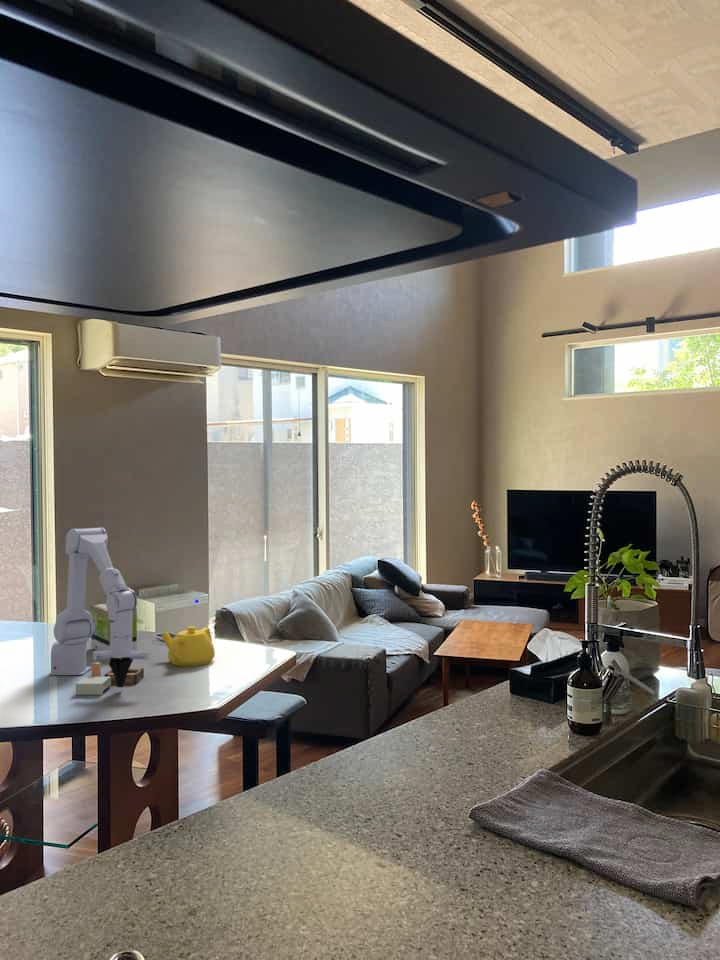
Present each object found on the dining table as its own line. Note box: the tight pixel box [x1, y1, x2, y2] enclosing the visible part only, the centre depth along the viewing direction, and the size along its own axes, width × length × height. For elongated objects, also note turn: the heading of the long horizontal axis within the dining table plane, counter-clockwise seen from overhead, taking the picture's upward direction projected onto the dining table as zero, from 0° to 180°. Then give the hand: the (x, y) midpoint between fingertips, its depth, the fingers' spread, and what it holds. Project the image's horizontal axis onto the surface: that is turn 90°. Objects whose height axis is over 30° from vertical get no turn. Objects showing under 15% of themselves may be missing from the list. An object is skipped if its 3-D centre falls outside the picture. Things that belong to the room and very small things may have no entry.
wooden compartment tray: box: [103, 667, 145, 685], centre depth 214 cm, size 9×7×2 cm
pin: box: [90, 661, 102, 677], centre depth 210 cm, size 2×2×6 cm
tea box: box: [90, 603, 138, 651], centre depth 250 cm, size 15×10×15 cm
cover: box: [75, 676, 112, 696], centre depth 203 cm, size 7×7×3 cm
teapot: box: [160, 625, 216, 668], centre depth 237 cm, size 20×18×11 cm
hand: (120, 686), depth 203 cm, fingers closed
